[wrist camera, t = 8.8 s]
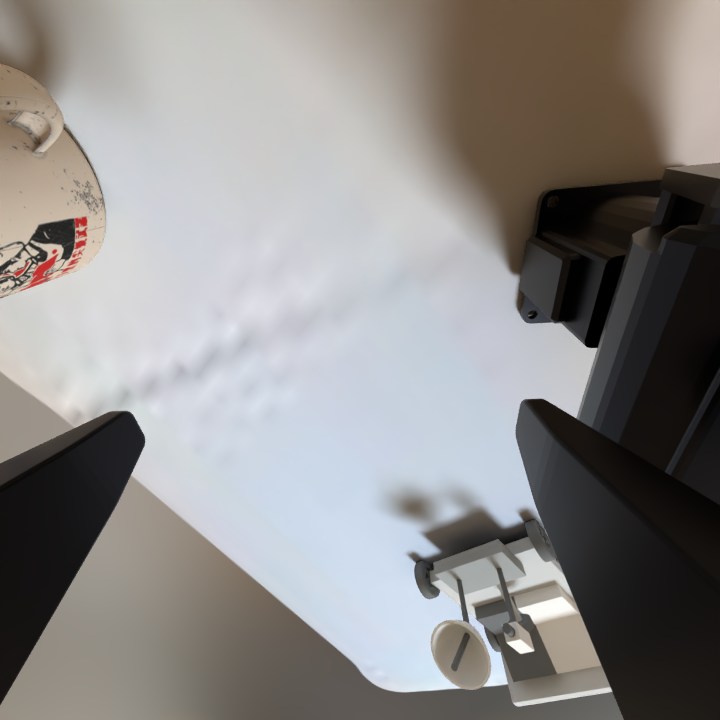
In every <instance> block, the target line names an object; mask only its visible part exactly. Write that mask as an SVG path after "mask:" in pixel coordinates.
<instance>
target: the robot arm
mask: <svg viewBox="0 0 720 720" xmlns="http://www.w3.org/2000/svg"><path fill="white" fill-rule="evenodd" d="M551 196H554V197H555V202H554V204H553V205H552V206H549V207H548V206H547V201H548V199H549V198H550V197H551ZM519 289H520V290H521V291H522V293H523V298H522V305H521V311H520V316H521V317H522V319H523V320H524V321H525V322H527V323H549V322H553V323H562V324H563V325H564V326H565V327H566V328H567V329H568V330H569V331H570V332H571V333H572V334H573V335H575V336H576V337H577V338H578V339H579V340H580V341H581V342H582V343H583V344H584V345H585V346H586V347H589V348H598V349H597V352H596V355H595V359H594V362H593V365H592V369H591V372H590V375H589V379H588V382H587V385H586V388H585V392H584V395H583V398H582V402H581V405H580V408H579V412H578V415H577V418H574V417H573V416H571V415H569V414H568V413H566V412H564V411H563V410H561V409H559V408H558V407H556V406H555V405H553V404H551V403H550V402H548V401H546V400H544V399H525V400H523V401H522V402H521V404H520V409H519V414H518V419H517V425H516V439H517V443H518V446H519V450H520V453H521V457H522V460H523V464H524V467H525V471H526V474H527V478H528V481H529V485H530V488H531V492H532V495H533V499H534V502H535V505H536V508H537V510H538V513H539V516H540V518H541V520H542V523H543V525H544V528H545V530H546V533H547V535H548V537H549V540H550V542H551V545H552V547H553V549H554V552H555V554H556V557H557V559H558V562H559V564H560V566H561V569H562V571H563V574H564V576H565V579H566V581H567V583H568V586H569V588H570V591H571V593H572V595H573V598H574V600H575V603H576V605H577V608H578V610H579V612H580V615H581V617H582V620H583V622H584V624H585V627H586V629H587V632H588V634H589V637H590V639H591V641H592V644H593V646H594V649H595V651H596V654H597V656H598V658H599V661H600V663H601V666H602V668H603V670H604V673H605V675H606V678H607V680H608V683H609V685H610V687H611V690H612V692H613V695H614V697H615V699H616V702H617V704H618V707H619V709H620V711H621V714H622V716H623V719H624V720H720V163H714V164H702V165H691V166H680V167H669V168H665V171H664V174H663V177H662V179H653V180H642V181H631V182H620V183H609V184H598V185H587V186H575V187H564V188H553V189H548V190H546V191H545V192H543V193H542V194H541V196H540V197H539V200H538V204H537V210H536V217H535V223H534V229H533V235H532V236H531V237H530V238H529V239H528V240H527V241H526V247H525V254H524V260H523V267H522V273H521V280H520V286H519ZM533 310H535V312H534V314H533V315H532V316H528V313H529V312H530V311H533ZM144 446H145V436H144V434H143V432H142V430H141V428H140V427H139V425H138V423H137V421H136V419H135V417H134V416H133V414H132V413H130V412H128V411H112V412H108V413H106V414H104V415H102V416H100V417H97V418H95V419H93V420H91V421H89V422H87V423H85V424H83V425H81V426H78V427H76V428H74V429H72V430H70V431H68V432H66V433H64V434H62V435H59V436H57V437H56V438H53V439H51V440H49V441H47V442H45V443H43V444H40V445H38V446H36V447H34V448H32V449H30V450H28V451H26V452H24V453H21V454H20V455H17V456H15V457H13V458H11V459H9V460H7V461H5V462H3V463H0V705H1V703H2V701H3V700H4V698H5V696H6V695H7V693H8V691H9V689H10V688H11V686H12V684H13V682H14V681H15V679H16V677H17V676H18V674H19V672H20V670H21V669H22V667H23V665H24V664H25V662H26V660H27V658H28V657H29V655H30V653H31V651H32V650H33V648H34V646H35V645H36V643H37V641H38V640H39V638H40V636H41V634H42V632H43V631H44V629H45V628H46V626H47V624H48V622H49V621H50V619H51V617H52V616H53V614H54V612H55V610H56V609H57V607H58V605H59V603H60V602H61V600H62V598H63V597H64V595H65V593H66V591H67V590H68V588H69V586H70V585H71V583H72V581H73V579H74V578H75V576H76V574H77V573H78V571H79V569H80V567H81V566H82V564H83V562H84V561H85V559H86V557H87V555H88V554H89V552H90V550H91V549H92V547H93V545H94V543H95V542H96V540H97V538H98V537H99V535H100V533H101V531H102V530H103V528H104V526H105V525H106V523H107V521H108V519H109V518H110V516H111V514H112V512H113V511H114V509H115V507H116V505H117V503H118V501H119V499H120V497H121V495H122V493H123V491H124V488H125V486H126V484H127V482H128V480H129V478H130V476H131V474H132V472H133V469H134V467H135V465H136V463H137V461H138V459H139V457H140V454H141V452H142V450H143V448H144Z"/></svg>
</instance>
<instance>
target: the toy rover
mask: <svg viewBox="0 0 720 720" xmlns="http://www.w3.org/2000/svg"><path fill="white" fill-rule="evenodd" d="M525 528H526V531H527V534H528V536H529V537H526V538H523V539H520V540H517V541H514V542H512V543H509V544H506V545H504V544H503V543H502V542H501V541H500V540H499V539H497V540H494V541H491V542H489V543H486V544H483V545H480V546H478V547H475V548H472V549H469V550H466V551H464V552H461V553H458V554H455V555H453V556H450V557H447V558H444V559H442V560H439V561H436V562H433V564H434V568H433V567H431V566H429V565H428V563H427V562H425V561H424V560H422V561H419V562H417V563H416V565H415V569H414V572H415V579H416V583H417V585H418V588H419V590H420V592H421V593H422V595H423V596H424V597H425V598H427V599H432V598H435V597H437V596H438V595H439V593H440V591H441V592H443V593H444V594H445V595H446V596H448V597H449V598H450V599H451V600H453V601H454V602H455V603H456V604H458V605H459V606H460V607H461V609H462V615H463V621H462V620H448V621H444V622H442V623H440V624H439V625H438V626H437V627H436V628H435V629H434V631H433V634H432V637H431V650H432V654H433V657H434V660H435V662H436V664H437V666H438V668H439V669H440V671H441V672H442V673H443V675H444V676H445V677H446V678H447V679H448V680H449V681H451V682H452V683H453V684H455V685H457V686H458V687H460V688H464V689H467V690H472V689H473V690H475V689H478V688H480V687H482V686H483V685H484V684H485V683H486V682H487V681H488V679H489V676H490V672H491V662H490V656H489V653H488V651H487V648H486V645H485V643H484V641H483V639H482V637H481V635H480V634H479V632H478V631H477V630H476V629H475V628H474V627H473V626H472V625H471V624H469V619H468V613H469V614H470V615H472V616H473V617H474V618H475V619H477V621H479V622H480V623H481V624H482V625H484V629H485V633H486V636H487V639H488V641H489V643H490V645H491V646H492V648H493V649H494V650H495V651H496V652H501V655H502V659H503V664H504V668H505V672H506V677H507V681H508V685H509V689H510V694H511V697H512V702H513V704H515V705H516V706H518V707H519V706H525V705H532V704H538V703H544V702H550V701H557V700H563V699H569V698H575V697H582V696H588V695H594V694H601V693H607V692H612V690H611V687H610V685H609V683H608V680H607V678H606V675H605V673H604V670H603V668H602V666H601V663H600V661H599V658H598V656H597V654H596V651H595V649H594V646H593V644H592V641H591V639H590V637H589V634H588V632H587V629H586V627H585V624H584V622H583V620H582V617H581V615H580V612H579V610H578V608H577V605H576V603H575V600H574V598H573V595H572V593H571V591H570V588H569V586H568V583H567V581H566V579H565V576H564V574H563V571H562V569H561V566H560V564H559V563H558V562H557V561H556V560H555V559H556V554H555V552H554V549H553V547H552V545H551V542H550V540H549V537H548V536H547V534H546V532H545V531H544V529H543V528H541V527H540V526H539V524H538V523H537V521H536V520H530V521H528V522H526V523H525ZM467 612H468V613H467Z"/></svg>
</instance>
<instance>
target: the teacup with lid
mask: <svg viewBox="0 0 720 720" xmlns="http://www.w3.org/2000/svg"><path fill="white" fill-rule="evenodd" d="M63 126H64V119H63V115H62V112H61V111H60V109H59V107H58V105H57V104H56V103H55V101H54V100H53V99H52V97H51V96H50V95H49V93H48V92H47V91H46V90H45V88H44V87H43V86H42V85H41V84H39V83H38V82H37V81H36V80H35V79H33V78H32V77H30V76H29V75H27V74H25V73H23V72H22V71H19V70H17V69H15V68H13V67H10V66H7V65H4V64H0V298H3V297H5V296H8V295H11V294H14V293H16V292H19V291H22V290H25V289H28V288H30V287H33V286H36V285H39V284H41V283H44V282H47V281H50V280H53V279H55V278H58V277H61V276H64V275H66V274H69V273H72V272H75V271H77V270H79V269H81V268H83V267H85V266H86V265H87V264H89V263H90V262H91V261H92V260H93V259H94V258H95V256H96V255H97V253H98V252H99V250H100V248H101V246H102V243H103V240H104V236H105V230H106V214H105V207H104V201H103V197H102V194H101V190H100V188H99V185H98V182H97V180H96V178H95V175H94V173H93V171H92V169H91V167H90V165H89V163H88V162H87V160H86V158H85V157H84V155H83V154H82V152H81V151H80V149H79V148H78V146H77V145H76V144H75V142H74V141H73V140H72V138H71V137H70V136H69V135H68V133H67V132H66V131H65V130H64V129H63Z"/></svg>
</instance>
